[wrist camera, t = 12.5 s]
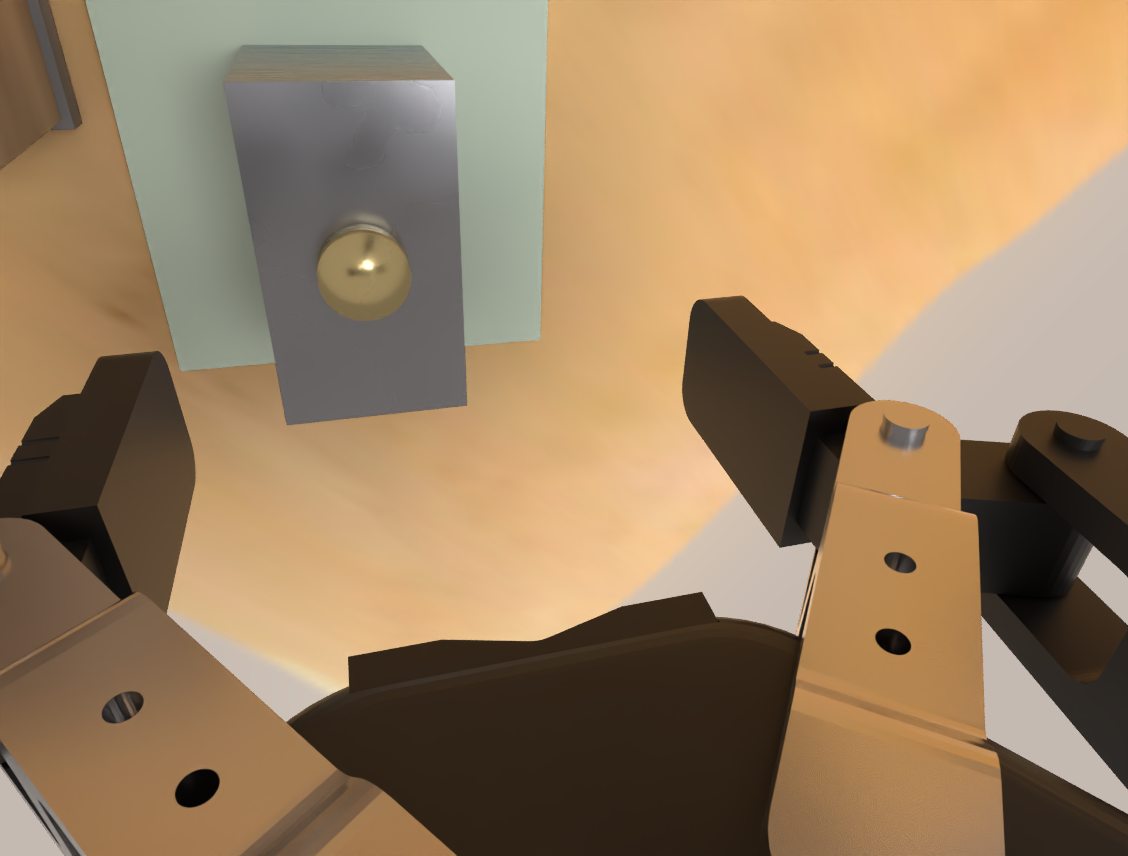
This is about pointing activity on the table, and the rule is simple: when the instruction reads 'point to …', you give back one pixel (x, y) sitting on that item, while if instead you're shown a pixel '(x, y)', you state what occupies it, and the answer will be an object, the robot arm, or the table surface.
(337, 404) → the block with brass knob
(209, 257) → the mat
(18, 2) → the body
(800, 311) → the table surface
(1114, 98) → the table surface
